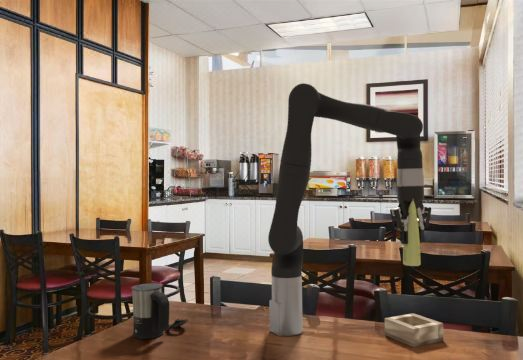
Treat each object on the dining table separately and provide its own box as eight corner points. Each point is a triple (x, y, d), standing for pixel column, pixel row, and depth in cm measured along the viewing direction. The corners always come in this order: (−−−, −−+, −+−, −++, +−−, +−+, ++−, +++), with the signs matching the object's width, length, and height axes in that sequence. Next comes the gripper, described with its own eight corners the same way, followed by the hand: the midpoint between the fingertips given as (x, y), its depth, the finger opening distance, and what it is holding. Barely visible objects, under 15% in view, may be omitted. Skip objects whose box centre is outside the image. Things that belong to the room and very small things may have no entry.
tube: (426, 265, 143) (424, 197, 143) (414, 267, 140) (413, 198, 140) (410, 262, 148) (409, 197, 148) (398, 264, 145) (397, 197, 145)
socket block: (413, 347, 136) (413, 329, 136) (384, 335, 147) (384, 318, 147) (443, 340, 141) (443, 323, 141) (413, 329, 152) (413, 313, 152)
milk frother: (125, 337, 149) (124, 288, 149) (156, 323, 164) (155, 278, 164) (165, 343, 144) (164, 291, 144) (194, 327, 158) (193, 281, 158)
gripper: (419, 184, 151) (420, 240, 151) (382, 185, 144) (383, 243, 144) (438, 183, 144) (439, 242, 144) (400, 185, 138) (401, 246, 138)
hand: (411, 243), depth 144 cm, fingers closed on tube, 4 cm apart
